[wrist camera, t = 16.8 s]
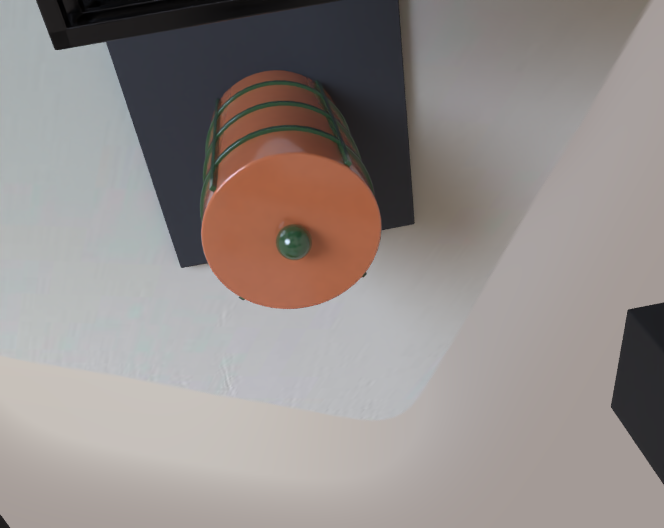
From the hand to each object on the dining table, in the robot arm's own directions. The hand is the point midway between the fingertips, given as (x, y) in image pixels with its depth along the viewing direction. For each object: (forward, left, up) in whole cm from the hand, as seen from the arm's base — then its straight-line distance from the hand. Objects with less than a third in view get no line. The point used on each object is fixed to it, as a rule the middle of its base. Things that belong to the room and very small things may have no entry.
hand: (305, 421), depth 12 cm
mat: (0, -1, -19) cm, 19 cm away
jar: (0, -1, -18) cm, 18 cm away
